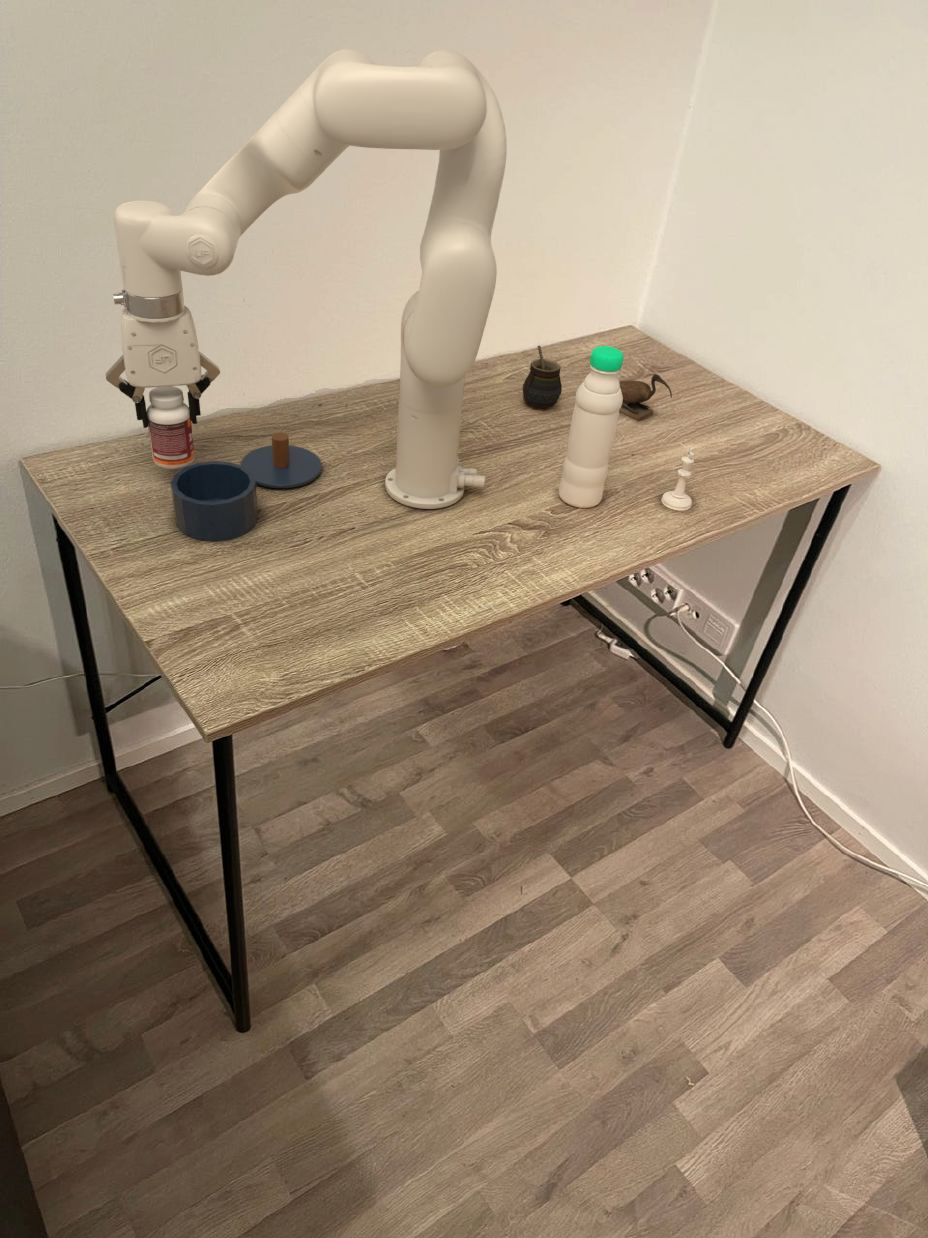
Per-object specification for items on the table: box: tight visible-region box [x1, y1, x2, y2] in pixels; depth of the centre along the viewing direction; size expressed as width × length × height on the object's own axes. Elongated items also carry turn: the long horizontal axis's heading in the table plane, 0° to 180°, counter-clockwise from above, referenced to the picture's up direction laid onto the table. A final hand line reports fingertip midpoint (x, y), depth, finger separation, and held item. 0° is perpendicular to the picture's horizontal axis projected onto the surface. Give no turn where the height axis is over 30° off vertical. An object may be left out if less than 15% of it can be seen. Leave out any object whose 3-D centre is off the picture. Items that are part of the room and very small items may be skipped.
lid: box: [240, 432, 322, 489], centre depth 147 cm, size 13×13×6 cm
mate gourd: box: [522, 345, 563, 411], centre depth 172 cm, size 7×8×10 cm
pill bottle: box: [146, 386, 196, 470], centre depth 138 cm, size 6×6×11 cm
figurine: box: [619, 373, 673, 422], centre depth 173 cm, size 14×4×9 cm, turn 46°
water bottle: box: [558, 345, 624, 509], centre depth 142 cm, size 7×7×25 cm
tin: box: [170, 460, 259, 542], centre depth 135 cm, size 12×12×6 cm
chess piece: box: [660, 447, 695, 512], centre depth 149 cm, size 5×5×10 cm
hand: (169, 420), depth 137 cm, fingers closed on pill bottle, 6 cm apart
